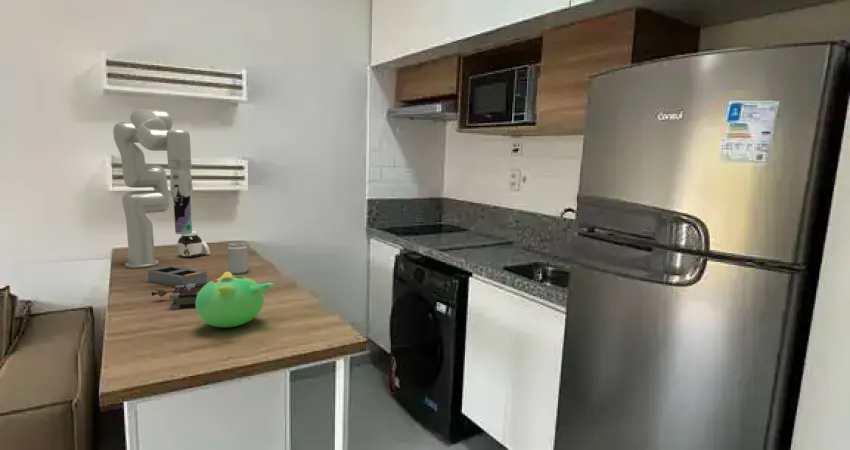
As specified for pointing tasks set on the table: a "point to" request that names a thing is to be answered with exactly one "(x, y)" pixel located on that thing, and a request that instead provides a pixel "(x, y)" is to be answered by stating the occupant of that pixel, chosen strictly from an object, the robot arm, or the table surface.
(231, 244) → the can
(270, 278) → the table surface
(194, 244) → the spread jar
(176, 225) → the spray can
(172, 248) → the table surface
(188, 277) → the grey rectangular grid frame
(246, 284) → the toy bird
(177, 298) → the dark layered knobbed device
